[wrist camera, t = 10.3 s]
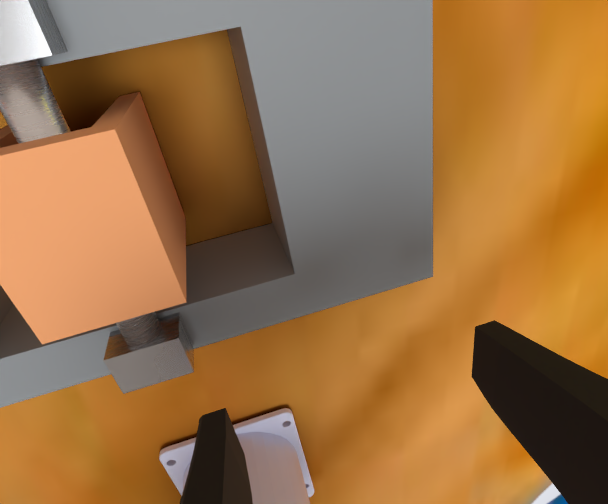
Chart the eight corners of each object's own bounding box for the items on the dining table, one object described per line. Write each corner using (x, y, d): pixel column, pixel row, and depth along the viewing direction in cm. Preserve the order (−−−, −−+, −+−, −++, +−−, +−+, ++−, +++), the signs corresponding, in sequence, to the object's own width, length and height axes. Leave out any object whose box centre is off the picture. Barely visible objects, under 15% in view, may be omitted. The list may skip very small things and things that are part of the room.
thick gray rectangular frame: (386, 229, 20) (452, 295, 15) (-88, 363, 18) (-197, 497, 13) (365, -70, 14) (464, -122, 9) (-375, 61, 11) (-820, 91, 6)
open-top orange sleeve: (185, 218, 17) (186, 302, 12) (86, 244, 16) (42, 344, 11) (139, 91, 14) (114, 129, 9) (19, 118, 14) (-78, 173, 9)
